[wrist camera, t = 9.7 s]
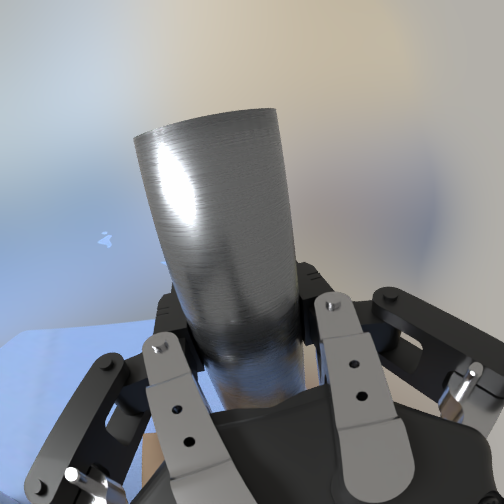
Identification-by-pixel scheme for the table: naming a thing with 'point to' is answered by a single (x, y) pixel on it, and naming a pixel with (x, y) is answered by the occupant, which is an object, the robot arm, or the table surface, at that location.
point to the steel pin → (230, 249)
